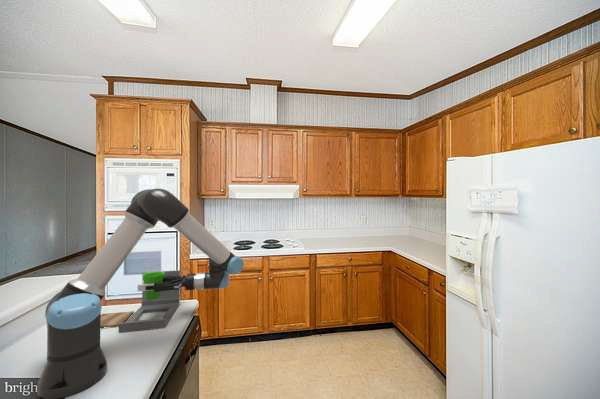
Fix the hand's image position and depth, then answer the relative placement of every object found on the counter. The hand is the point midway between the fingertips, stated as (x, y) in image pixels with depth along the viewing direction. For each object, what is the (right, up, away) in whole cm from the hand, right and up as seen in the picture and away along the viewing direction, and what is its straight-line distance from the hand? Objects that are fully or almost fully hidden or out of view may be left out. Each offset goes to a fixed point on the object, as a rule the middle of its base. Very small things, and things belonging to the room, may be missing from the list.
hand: (142, 284), depth 113 cm
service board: (-12, -15, -3) cm, 19 cm away
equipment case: (+4, -15, +1) cm, 16 cm away
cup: (+4, -7, +1) cm, 8 cm away
